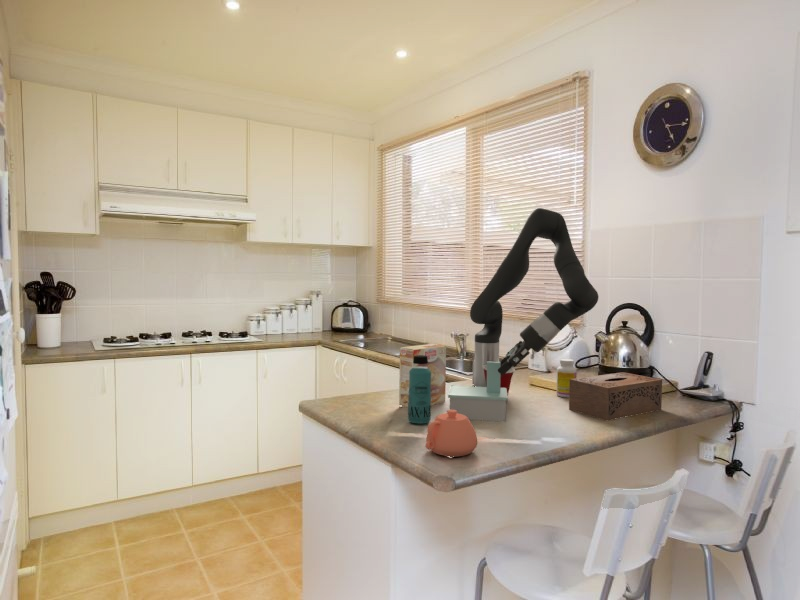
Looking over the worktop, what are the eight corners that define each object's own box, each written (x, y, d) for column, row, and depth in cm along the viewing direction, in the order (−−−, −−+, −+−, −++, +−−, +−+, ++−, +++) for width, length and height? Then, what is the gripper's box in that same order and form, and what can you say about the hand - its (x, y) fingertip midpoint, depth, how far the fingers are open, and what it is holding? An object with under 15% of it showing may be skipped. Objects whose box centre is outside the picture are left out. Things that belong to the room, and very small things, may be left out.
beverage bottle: (404, 423, 150) (404, 354, 149) (425, 421, 153) (425, 353, 152) (413, 430, 144) (414, 357, 143) (435, 427, 147) (436, 356, 146)
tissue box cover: (622, 401, 180) (623, 372, 180) (661, 410, 168) (662, 379, 167) (568, 410, 168) (569, 379, 167) (606, 421, 155) (607, 387, 155)
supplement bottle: (577, 398, 182) (578, 361, 181) (557, 397, 183) (558, 361, 183) (574, 394, 189) (575, 358, 188) (555, 393, 190) (556, 358, 189)
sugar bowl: (488, 454, 126) (488, 412, 125) (442, 466, 118) (443, 421, 117) (454, 440, 136) (454, 401, 135) (410, 451, 128) (410, 409, 127)
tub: (449, 421, 153) (449, 397, 153) (452, 410, 165) (452, 388, 165) (505, 424, 151) (505, 399, 150) (504, 413, 163) (504, 390, 162)
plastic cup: (508, 408, 169) (508, 371, 168) (476, 403, 174) (477, 367, 174) (519, 401, 178) (519, 366, 177) (489, 397, 184) (489, 362, 183)
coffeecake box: (413, 411, 164) (413, 349, 163) (398, 407, 169) (398, 346, 168) (446, 404, 174) (447, 345, 173) (431, 400, 179) (431, 343, 178)
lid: (447, 401, 153) (448, 364, 152) (451, 391, 166) (451, 357, 165) (507, 403, 150) (508, 366, 149) (506, 393, 163) (506, 359, 162)
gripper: (528, 321, 161) (490, 357, 164) (532, 326, 147) (490, 365, 150) (546, 339, 161) (507, 374, 163) (551, 345, 146) (509, 384, 149)
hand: (499, 370), depth 156 cm, fingers open, 8 cm apart
